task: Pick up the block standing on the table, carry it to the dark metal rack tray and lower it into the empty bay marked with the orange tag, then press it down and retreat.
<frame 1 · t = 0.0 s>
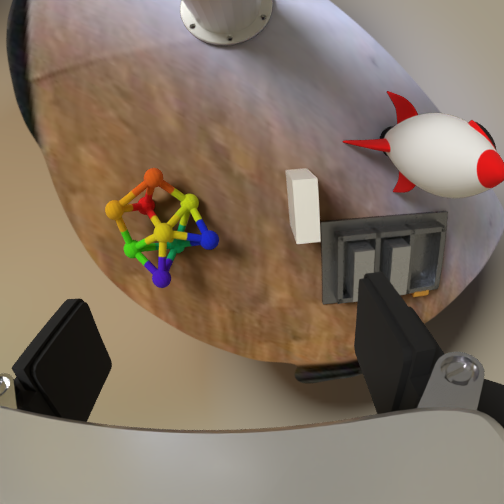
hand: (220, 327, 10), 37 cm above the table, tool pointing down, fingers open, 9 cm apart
block: (298, 196, 46), on the table
rocket: (390, 141, 43), on the table
rack: (386, 257, 49), on the table
decorative model: (170, 217, 47), on the table
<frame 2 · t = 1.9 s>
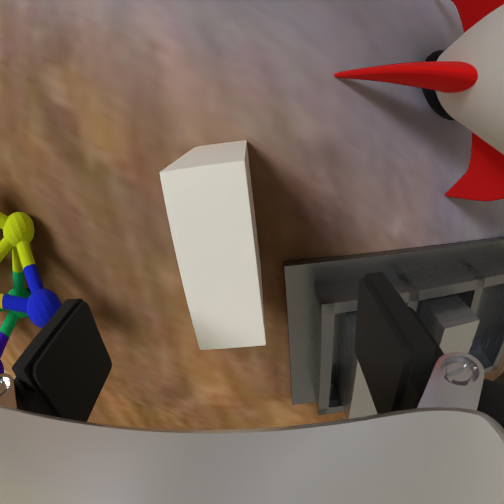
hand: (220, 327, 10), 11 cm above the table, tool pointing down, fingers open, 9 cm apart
block: (229, 208, 20), on the table
rocket: (441, 85, 16), on the table
rack: (419, 323, 24), on the table
decorative model: (8, 253, 21), on the table
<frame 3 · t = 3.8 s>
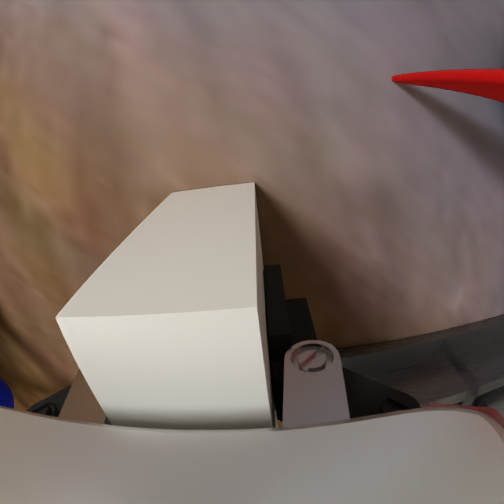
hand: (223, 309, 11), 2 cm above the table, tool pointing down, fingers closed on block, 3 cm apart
block: (227, 286, 13), on the table, touching gripper
rack: (461, 401, 17), on the table
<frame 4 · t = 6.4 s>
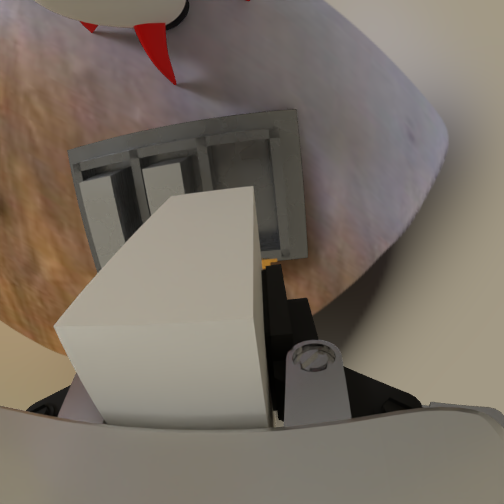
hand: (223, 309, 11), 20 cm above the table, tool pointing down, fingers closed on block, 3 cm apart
block: (226, 289, 13), point 18 cm above the table, touching gripper
rocket: (166, 12, 23), on the table
rack: (183, 198, 30), on the table
when the fingers open (4 cm above the table, at t = 8.8 s): block drops 2 cm, resting on rack.
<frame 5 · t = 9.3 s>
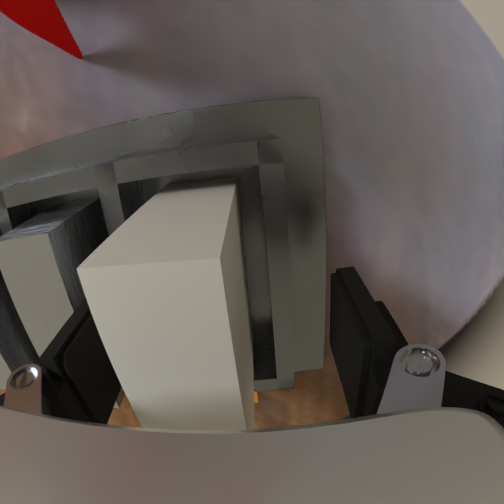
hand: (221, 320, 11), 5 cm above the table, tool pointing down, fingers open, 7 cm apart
block: (213, 267, 15), point 1 cm above the table, touching rack
rack: (104, 270, 16), on the table
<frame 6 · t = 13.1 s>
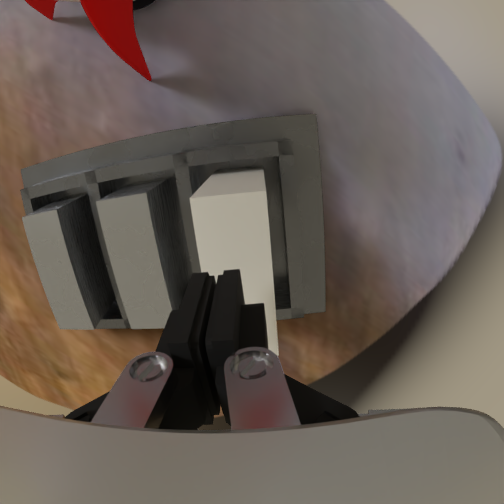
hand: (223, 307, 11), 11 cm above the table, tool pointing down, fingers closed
block: (245, 228, 21), point 1 cm above the table, touching rack
rack: (162, 234, 22), on the table
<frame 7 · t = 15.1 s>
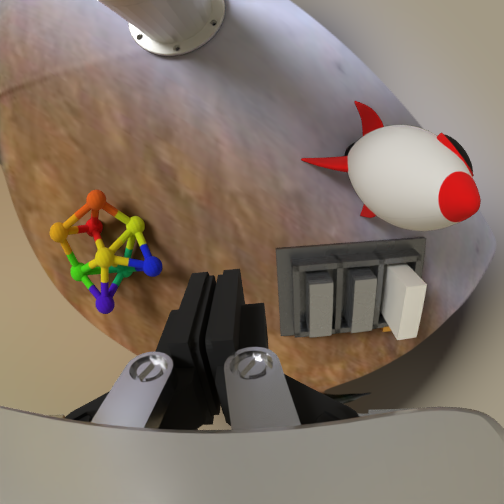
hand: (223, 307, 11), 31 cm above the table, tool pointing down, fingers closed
block: (391, 285, 45), point 1 cm above the table, touching rack
rocket: (358, 158, 39), on the table
rack: (353, 287, 46), on the table
decorative model: (118, 239, 44), on the table
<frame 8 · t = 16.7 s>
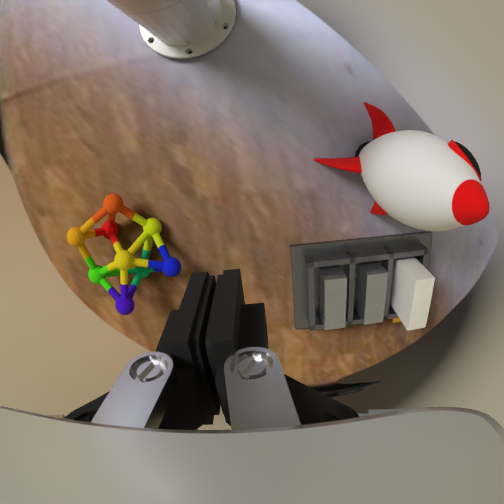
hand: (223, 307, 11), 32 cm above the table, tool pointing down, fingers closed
block: (399, 278, 46), point 1 cm above the table, touching rack
rocket: (368, 157, 40), on the table
rack: (364, 280, 47), on the table
decorative model: (135, 240, 45), on the table
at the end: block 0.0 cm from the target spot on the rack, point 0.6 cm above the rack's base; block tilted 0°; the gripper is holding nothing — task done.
